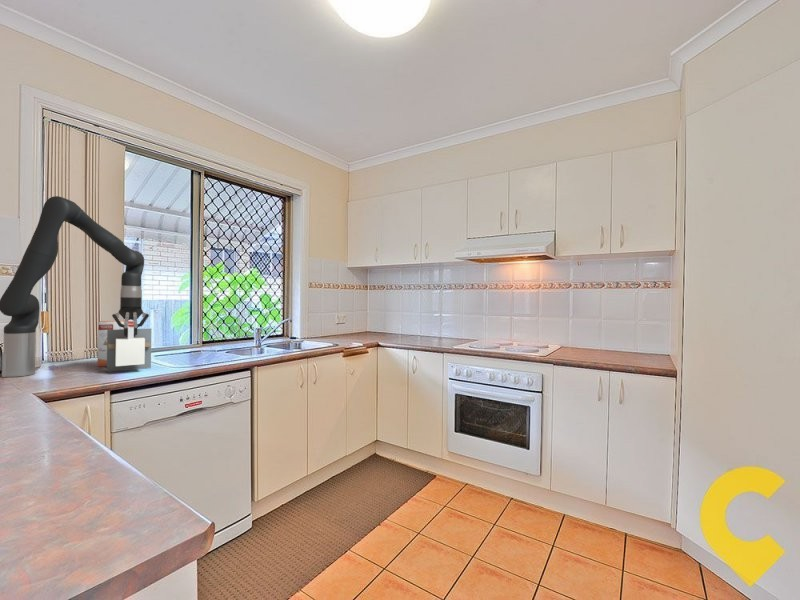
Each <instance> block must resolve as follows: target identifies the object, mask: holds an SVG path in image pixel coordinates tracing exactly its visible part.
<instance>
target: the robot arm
mask: <svg viewBox="0 0 800 600" xmlns="http://www.w3.org/2000/svg"><path fill="white" fill-rule="evenodd" d="M65 222H66V223H68V224H70V225H72V226H74V227H76V228H77V229H79V230H81V231H82V232H83V233H85V234H86V236H88V237H89V238H90V239H91V241H92V242H93V243H95V244H96V245H97V246H98V247H100V248H101V249H103V250H105V251H106V252H107V253H109V254H110V255H111V256H112V257H113V258H114V259H115V260H117V261H118V262H119V263H120V264H122V265H124V266H125V270H124V272H123V273H122V274H121V279H120V280H121V283H120V284H121V286H120V297H119V299H120V302H119V305H120V306H119V310H118V312H116V313H112V315H111V316H112V318H113V320H114V321H116V322H117V324H118V325H119V327H123V328H124V336H126V337H128V328H127V327H128V321H133V322H134V337H135V335H137V329H139V328H140V327H143V326H144V324H145V322H146V321H147V320H148V318H149V317H150V315H149V313H146V312H144V310H143V307H142V305H143V304H142V303H143V290H142V275H143V272H144V268H145V258H144V257H145V256H144V255H143V254H142V252H140V251H137V250H134V249H132V248H130V247H128V246H127V245H125V243H124V241H122V240H121V238H119V237H117V236H116V235H115V234H113V233H112V232H111V231H109V230H108V229H106V228H105V227H103V226H102V225H101V224H99V223H97V222H96V221H95V220H94V219H93V218H92V217H90V216H89V215H88V214H87V213H86V212H85V211H84V210H83V209H82V208H81V207H80V206H79V205H78V204H77V203H76V202H74V201H72V200H70V199H68V198H65V197H62V196H57V195H55V196H52V197H49V198H48V199H47V200H46V201H45V202H44V204H43V207H42V210H41V213H40V216H39V220H38V223H37V226H36V227H35V231H34V232H33V235H32V237H31V239H30V241H29V243H28V246H27V247H26V249H25V252H24V254H23V256H22V258H21V261H20V263H19V265H18V267H17V269H16V272H15V274H14V275H13V278H12V280H11V282H10V283H9V285H8V286H7V287H6V289H5V291H4V293H3V294H2V296H1V297H0V313H1V314H3V315H5V316H8V317H11V319H10V321H9V323H7V324H5V325H4V327H3V352H2V353H1V378H13V377H14V378H15V377H23V376H24V377H26V376H31V375H32V376H33V375H35V374H36V353H37V351H36V347H37V346H36V339H37V338H36V335H37V334H36V333H37V327H38V325H39V322H40V309H41V307H40V301H39V299H38V298H37V297H36V296H35V295H34V294H32V291H33V289H34V288H35V286H36V285H37V283H38V282H39V281H41V279H42V278H43V277H45V275H47V273H49V272H50V271H51V269H52V267H53V266H54V264H55V262H56V259H57V256H58V253H59V232H60V229H61V228H62V225H63V223H65ZM120 316H121V317H122V319H124V320H123V321H124V324H121V322H120V321H121V320H120V319H119V318H120ZM140 317H142V319H141V320H140V322H139V323H138V319H139V318H140Z"/></svg>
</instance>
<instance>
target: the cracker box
mask: <svg viewBox="0 0 800 600" xmlns="http://www.w3.org/2000/svg"><path fill="white" fill-rule="evenodd" d="M119 321H120V322H121V324H124V321H125V320H119ZM128 327H134V322H133V320H128ZM128 327H127V328H128ZM119 329H124V328H123V327H119V325H118V324H117V322H116V321H115V320H100V321H98V330H97V331H98V332H97V336H98V337H97V343H98V344H97V368H100V367H103V368H104V367H107V330H119Z"/></svg>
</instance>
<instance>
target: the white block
mask: <svg viewBox="0 0 800 600" xmlns="http://www.w3.org/2000/svg"><path fill="white" fill-rule="evenodd" d="M140 364H145V338H142V337H139V338H134V327H128V337H127V338H117V339H116V358H115V365H116V366H127V365H140Z"/></svg>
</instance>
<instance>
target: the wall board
mask: <svg viewBox="0 0 800 600" xmlns="http://www.w3.org/2000/svg"><path fill="white" fill-rule="evenodd" d="M139 337H142V338H145V364H140V365H127V366H116V365H115V358H116V339H117V338H127V337H126V336H124V329H119V330H107V366H106V372H107V373H108V372H119V371H129V370H131V371H132V370H140V369H141V370H143V368H145V369H151V368H152V328H137V335H135V337H134V338H139Z"/></svg>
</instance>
